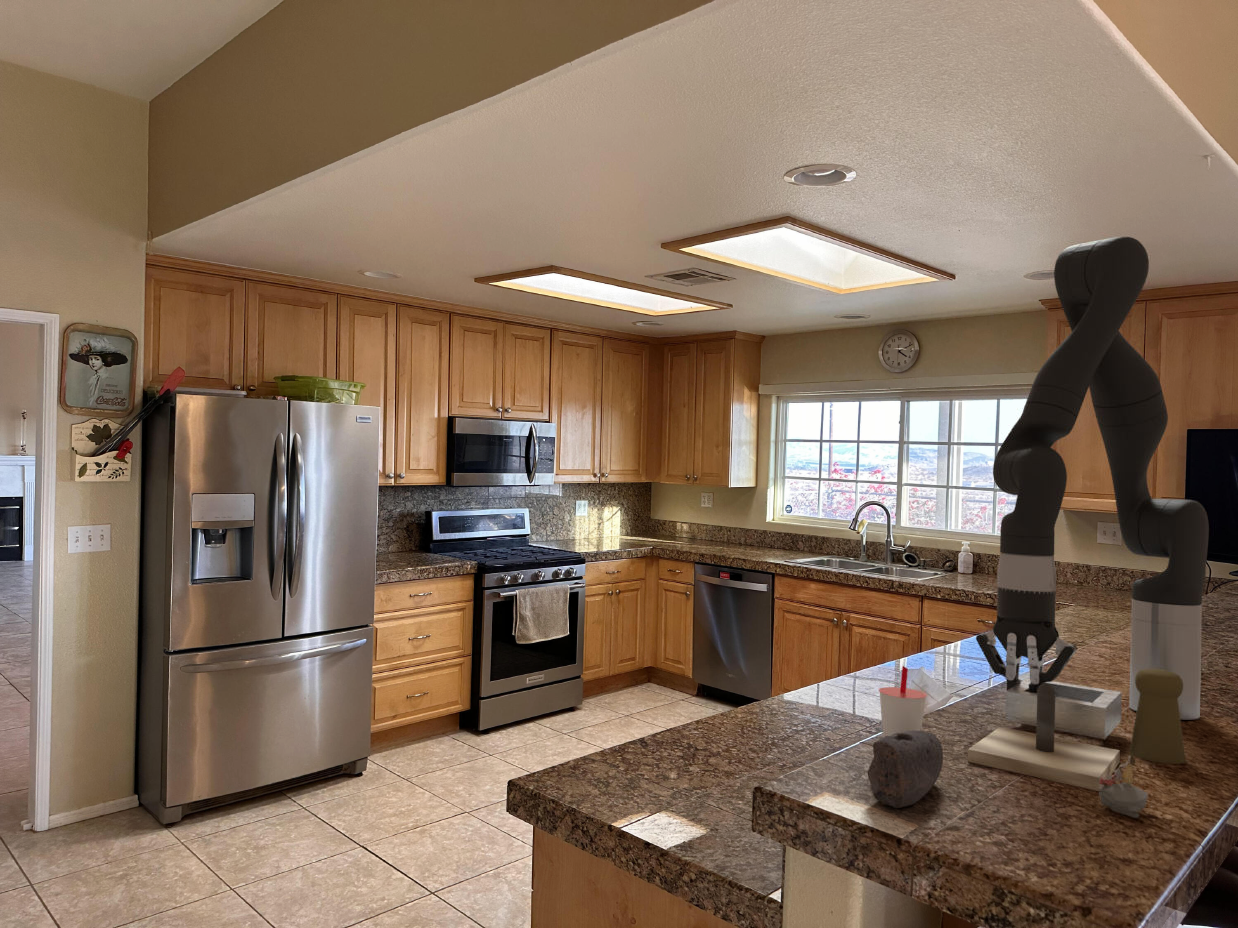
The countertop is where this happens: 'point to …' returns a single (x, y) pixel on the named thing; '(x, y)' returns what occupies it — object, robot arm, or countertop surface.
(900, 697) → the cup
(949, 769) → the countertop surface
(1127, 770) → the figurine
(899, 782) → the perforated stone tool
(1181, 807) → the countertop surface
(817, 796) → the countertop surface
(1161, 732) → the cork
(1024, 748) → the block
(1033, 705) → the grey hollow block
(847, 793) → the countertop surface
